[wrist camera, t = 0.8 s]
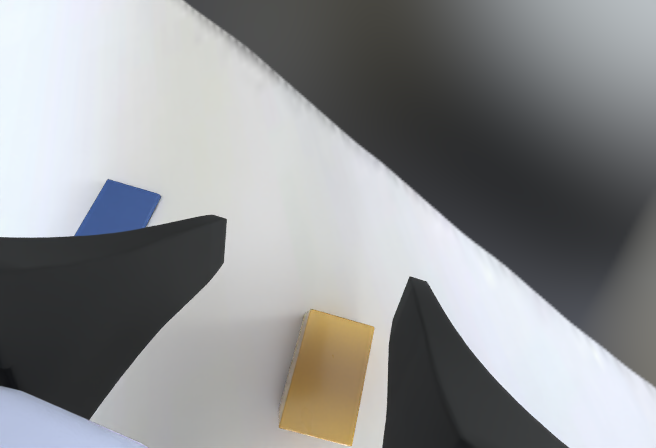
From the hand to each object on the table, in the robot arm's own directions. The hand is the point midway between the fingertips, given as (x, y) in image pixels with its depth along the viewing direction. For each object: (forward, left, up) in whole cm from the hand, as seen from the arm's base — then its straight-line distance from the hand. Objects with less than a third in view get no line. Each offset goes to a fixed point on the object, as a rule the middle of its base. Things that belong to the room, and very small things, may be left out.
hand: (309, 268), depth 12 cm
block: (-4, -3, -15) cm, 16 cm away
